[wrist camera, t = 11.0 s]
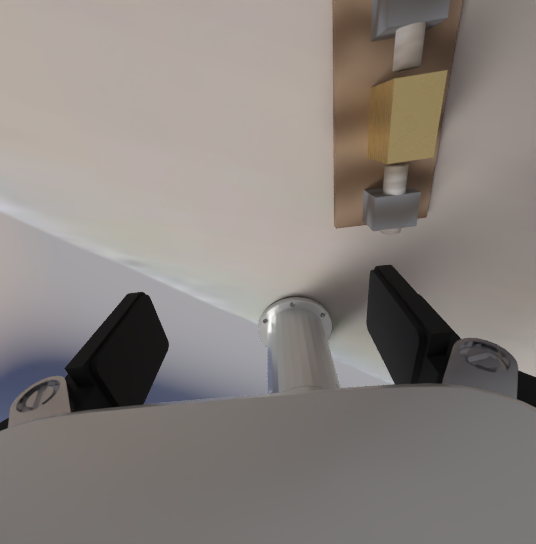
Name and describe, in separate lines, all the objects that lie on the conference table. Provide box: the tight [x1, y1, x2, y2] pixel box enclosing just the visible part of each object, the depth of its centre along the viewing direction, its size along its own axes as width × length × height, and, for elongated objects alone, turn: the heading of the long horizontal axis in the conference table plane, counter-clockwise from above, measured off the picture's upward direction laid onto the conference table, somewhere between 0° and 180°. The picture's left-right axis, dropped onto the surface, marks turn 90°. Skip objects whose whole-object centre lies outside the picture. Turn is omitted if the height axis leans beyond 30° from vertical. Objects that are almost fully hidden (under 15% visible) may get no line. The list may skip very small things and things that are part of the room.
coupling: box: [367, 70, 448, 164], centre depth 27 cm, size 7×4×6 cm, turn 8°
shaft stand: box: [333, 0, 463, 234], centre depth 28 cm, size 24×12×5 cm, turn 7°
